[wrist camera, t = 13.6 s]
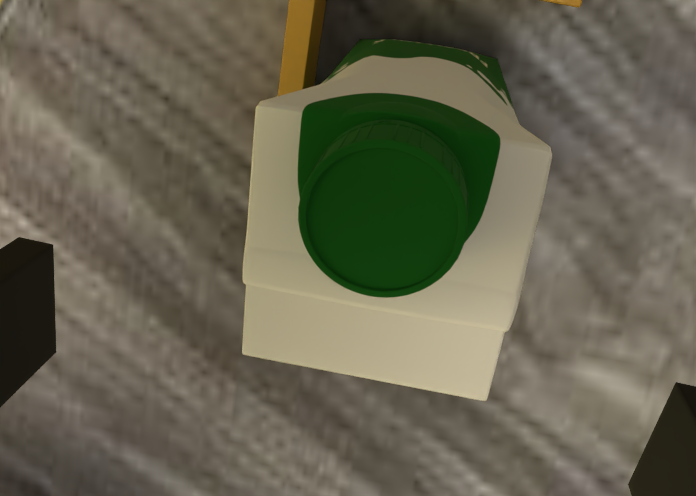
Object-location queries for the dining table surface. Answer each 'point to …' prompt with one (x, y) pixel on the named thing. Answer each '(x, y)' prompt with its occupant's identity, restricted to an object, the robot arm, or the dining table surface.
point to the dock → (314, 43)
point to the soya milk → (392, 219)
